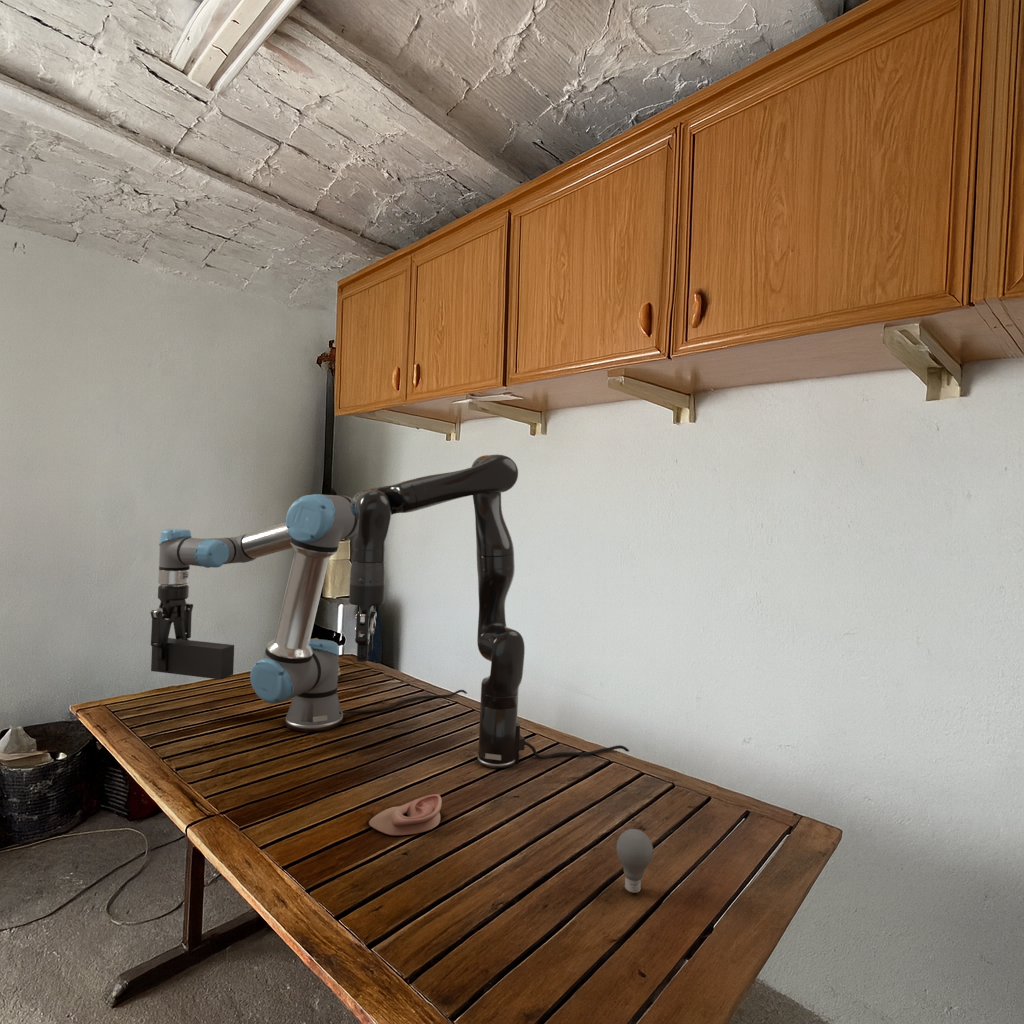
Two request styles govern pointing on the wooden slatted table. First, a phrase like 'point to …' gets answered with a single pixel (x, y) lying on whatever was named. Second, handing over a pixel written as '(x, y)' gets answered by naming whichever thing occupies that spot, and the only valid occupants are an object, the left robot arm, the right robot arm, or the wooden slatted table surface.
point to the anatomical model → (409, 817)
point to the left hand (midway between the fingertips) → (170, 667)
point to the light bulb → (634, 857)
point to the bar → (197, 659)
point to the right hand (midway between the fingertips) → (364, 656)
